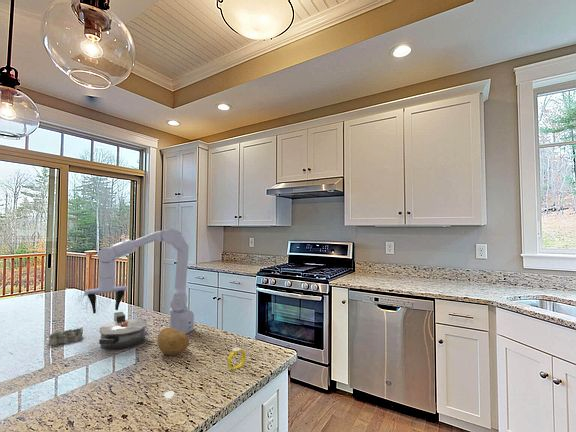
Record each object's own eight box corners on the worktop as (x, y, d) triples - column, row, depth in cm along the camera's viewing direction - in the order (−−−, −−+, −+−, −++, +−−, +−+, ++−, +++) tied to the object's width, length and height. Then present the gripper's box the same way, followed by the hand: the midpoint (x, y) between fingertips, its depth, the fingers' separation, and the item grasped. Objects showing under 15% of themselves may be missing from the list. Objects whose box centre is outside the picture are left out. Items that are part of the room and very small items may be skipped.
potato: (169, 364, 95) (169, 339, 95) (150, 352, 104) (151, 329, 105) (196, 355, 102) (196, 331, 103) (176, 344, 112) (177, 323, 112)
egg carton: (47, 347, 109) (47, 335, 110) (50, 340, 116) (51, 329, 116) (82, 341, 115) (82, 330, 115) (83, 335, 121) (84, 325, 121)
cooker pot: (126, 354, 103) (127, 339, 103) (84, 353, 103) (85, 338, 103) (159, 330, 127) (159, 318, 127) (124, 330, 127) (125, 318, 127)
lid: (151, 329, 112) (151, 321, 113) (102, 338, 103) (102, 330, 103) (138, 316, 130) (139, 309, 130) (95, 323, 120) (95, 315, 120)
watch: (231, 373, 90) (230, 354, 90) (226, 370, 92) (225, 351, 92) (247, 365, 94) (246, 347, 94) (241, 362, 96) (241, 344, 96)
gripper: (125, 274, 127) (124, 306, 126) (84, 277, 118) (83, 312, 117) (128, 276, 121) (127, 309, 121) (85, 280, 112) (84, 316, 112)
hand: (105, 311), depth 119 cm, fingers open, 7 cm apart
